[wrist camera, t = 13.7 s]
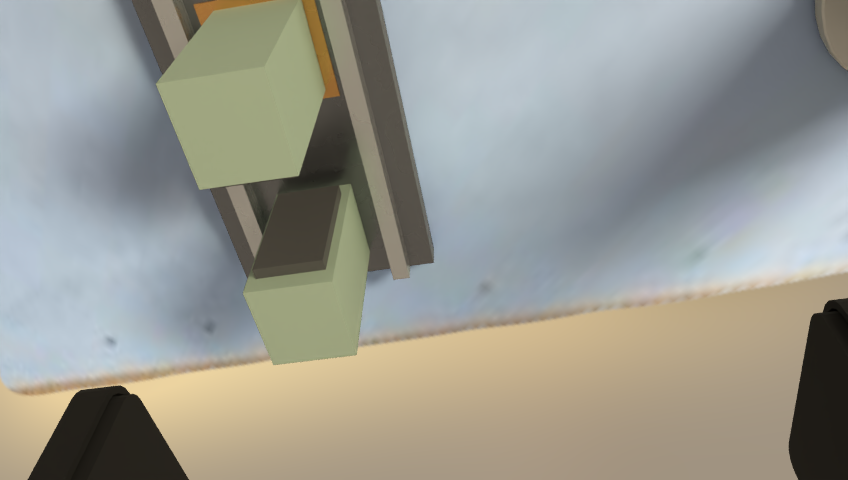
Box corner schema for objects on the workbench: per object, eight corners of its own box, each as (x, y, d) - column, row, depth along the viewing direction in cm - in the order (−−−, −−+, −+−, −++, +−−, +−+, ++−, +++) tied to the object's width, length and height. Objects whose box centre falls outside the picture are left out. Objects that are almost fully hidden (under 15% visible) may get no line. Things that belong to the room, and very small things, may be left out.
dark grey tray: (362, -79, 35) (357, -66, 32) (433, 248, 46) (433, 274, 44) (131, -35, 36) (111, -19, 34) (255, 272, 48) (247, 299, 45)
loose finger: (300, -5, 35) (264, 66, 28) (328, 99, 38) (302, 187, 31) (213, 10, 36) (155, 83, 28) (248, 112, 39) (204, 201, 32)
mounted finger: (348, 174, 41) (329, 271, 34) (370, 251, 44) (356, 355, 37) (273, 186, 42) (238, 283, 34) (300, 261, 45) (273, 364, 38)
